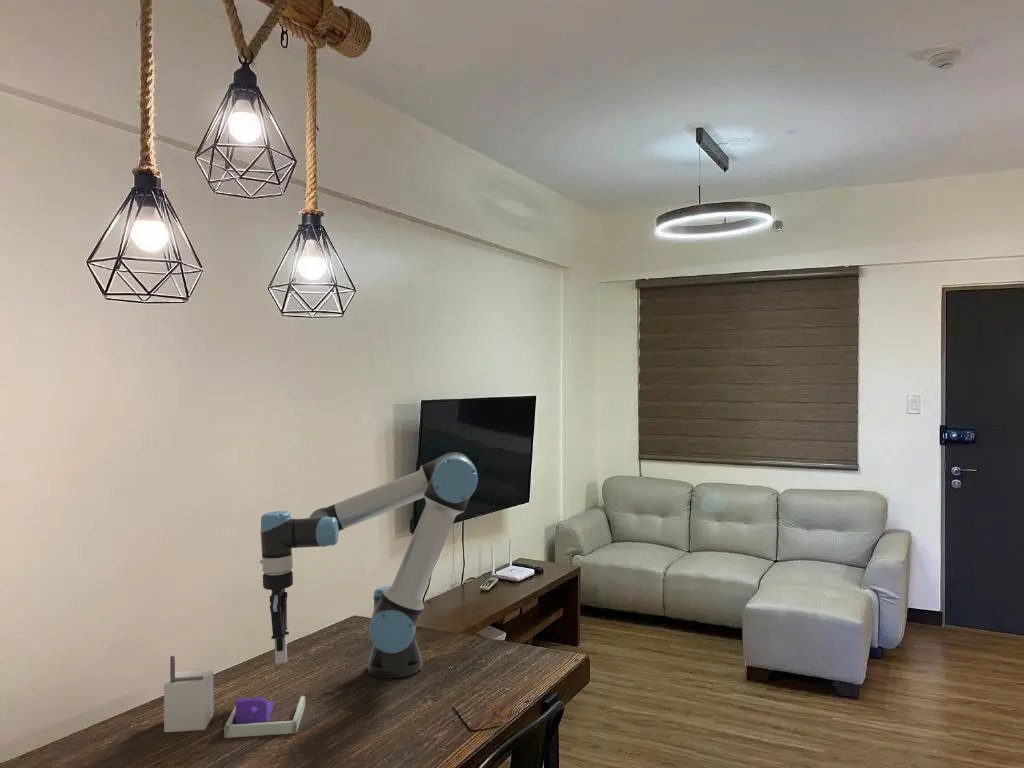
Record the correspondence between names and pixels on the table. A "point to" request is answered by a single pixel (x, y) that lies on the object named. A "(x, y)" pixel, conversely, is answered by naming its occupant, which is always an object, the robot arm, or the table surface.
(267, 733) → the corral
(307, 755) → the table surface
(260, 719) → the bracket
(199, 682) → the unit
